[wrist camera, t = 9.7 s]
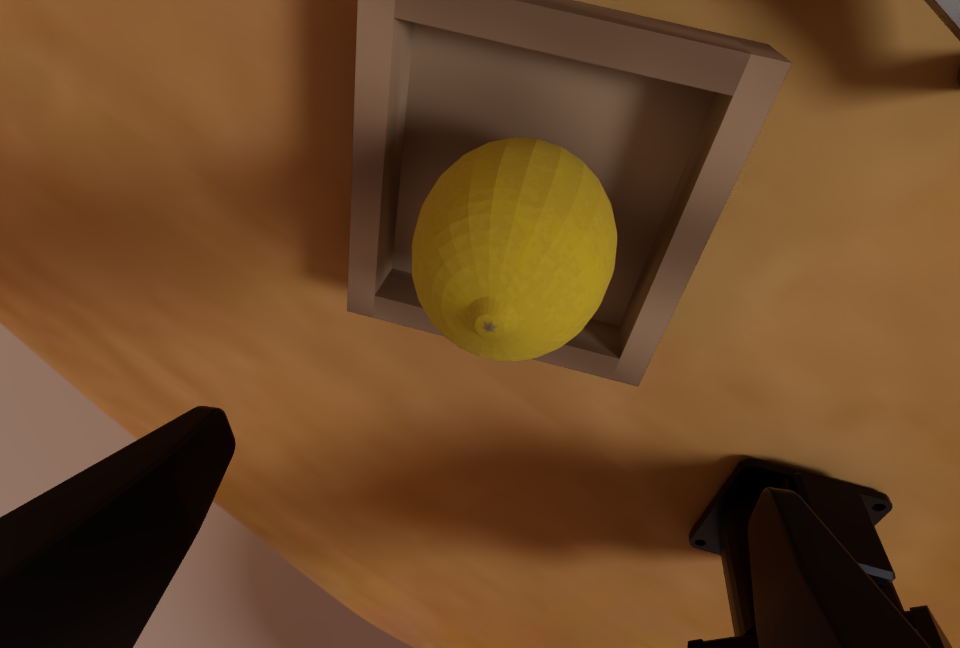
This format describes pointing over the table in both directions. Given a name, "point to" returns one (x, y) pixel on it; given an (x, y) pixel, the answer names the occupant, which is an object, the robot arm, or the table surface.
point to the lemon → (514, 249)
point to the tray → (554, 142)
